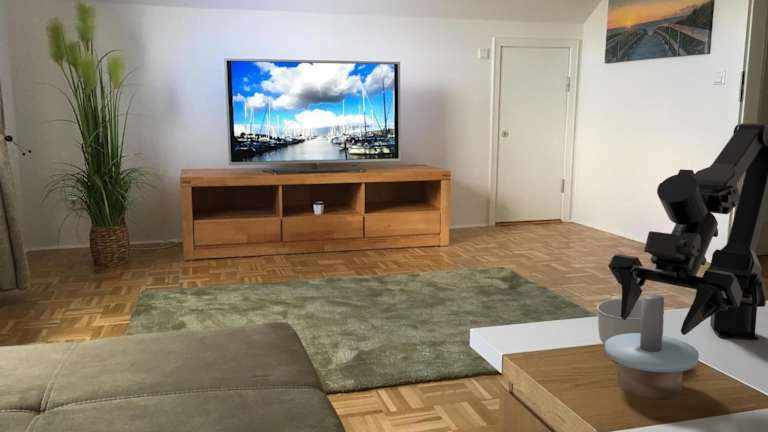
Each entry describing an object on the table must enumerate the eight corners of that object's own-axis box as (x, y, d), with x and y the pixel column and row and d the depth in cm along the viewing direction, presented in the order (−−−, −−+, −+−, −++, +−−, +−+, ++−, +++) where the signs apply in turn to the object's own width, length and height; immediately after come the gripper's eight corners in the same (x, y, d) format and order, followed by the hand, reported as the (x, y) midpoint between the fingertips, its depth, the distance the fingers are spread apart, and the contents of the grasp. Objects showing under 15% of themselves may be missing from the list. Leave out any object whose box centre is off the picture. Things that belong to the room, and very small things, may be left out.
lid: (686, 341, 101) (689, 286, 99) (708, 375, 88) (712, 313, 87) (600, 337, 104) (602, 283, 102) (610, 369, 91) (612, 308, 90)
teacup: (668, 364, 105) (671, 317, 103) (599, 360, 107) (601, 315, 106) (651, 334, 118) (653, 292, 117) (590, 331, 120) (591, 291, 119)
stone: (674, 375, 100) (675, 345, 99) (687, 401, 92) (689, 368, 91) (614, 371, 102) (615, 342, 101) (621, 396, 94) (623, 364, 93)
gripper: (616, 205, 103) (576, 284, 98) (740, 218, 89) (701, 311, 84) (638, 245, 109) (601, 321, 104) (757, 263, 95) (722, 352, 90)
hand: (651, 325), depth 95 cm, fingers open, 9 cm apart
